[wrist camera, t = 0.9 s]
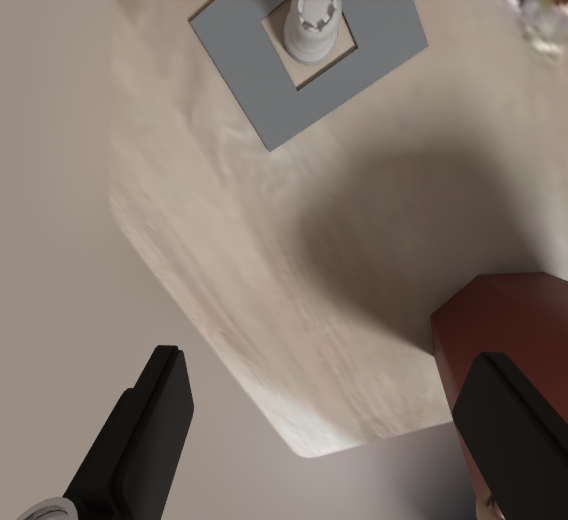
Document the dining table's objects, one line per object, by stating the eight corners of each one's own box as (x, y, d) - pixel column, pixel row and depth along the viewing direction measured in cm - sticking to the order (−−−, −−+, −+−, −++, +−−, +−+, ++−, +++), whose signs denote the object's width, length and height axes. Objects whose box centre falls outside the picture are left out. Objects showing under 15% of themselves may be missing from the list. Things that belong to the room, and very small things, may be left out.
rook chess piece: (274, 48, 25) (267, 26, 18) (299, -13, 23) (302, -64, 16) (319, 77, 26) (329, 66, 19) (347, 20, 24) (370, -15, 17)
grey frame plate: (366, -132, 21) (367, -135, 20) (427, 46, 25) (428, 45, 25) (190, 23, 25) (189, 22, 24) (269, 151, 29) (269, 152, 29)
